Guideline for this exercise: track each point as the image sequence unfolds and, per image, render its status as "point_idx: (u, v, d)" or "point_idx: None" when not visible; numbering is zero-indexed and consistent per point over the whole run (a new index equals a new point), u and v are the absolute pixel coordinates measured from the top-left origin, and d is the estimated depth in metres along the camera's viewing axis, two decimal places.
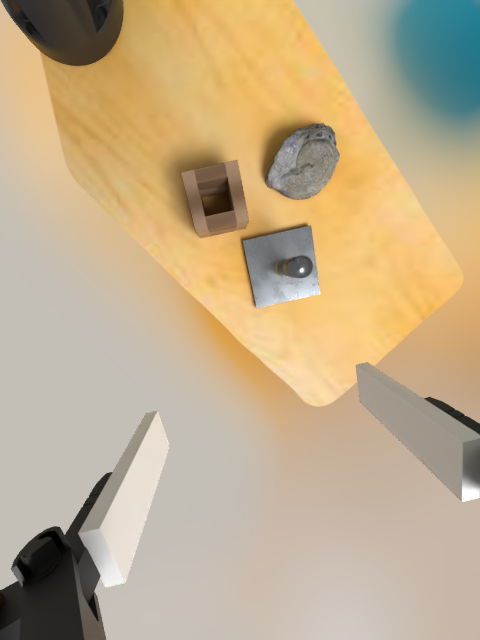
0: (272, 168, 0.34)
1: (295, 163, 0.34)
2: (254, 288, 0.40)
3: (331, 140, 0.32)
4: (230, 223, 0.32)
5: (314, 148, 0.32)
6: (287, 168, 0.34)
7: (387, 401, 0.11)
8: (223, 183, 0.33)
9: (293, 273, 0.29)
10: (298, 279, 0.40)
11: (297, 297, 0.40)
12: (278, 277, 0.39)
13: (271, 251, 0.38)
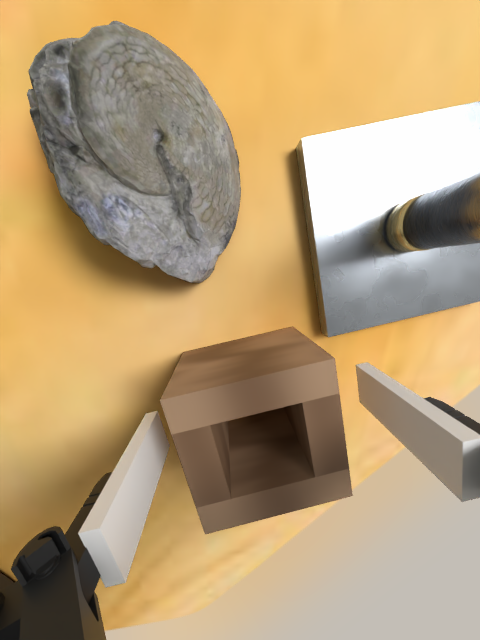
0: (174, 272, 0.12)
1: (157, 197, 0.11)
2: (444, 305, 0.15)
3: (71, 43, 0.08)
4: (338, 412, 0.11)
5: (108, 119, 0.09)
6: (173, 226, 0.11)
7: (387, 401, 0.11)
8: None
9: None
10: (445, 176, 0.13)
11: None
12: None
13: (361, 262, 0.14)
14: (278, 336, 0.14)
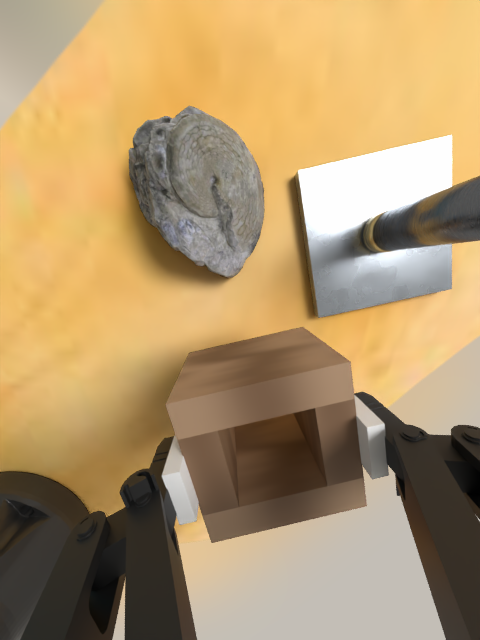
0: (217, 269, 0.17)
1: (209, 219, 0.16)
2: (411, 294, 0.20)
3: (167, 127, 0.14)
4: (353, 418, 0.10)
5: (186, 174, 0.14)
6: (218, 238, 0.16)
7: None
8: None
9: None
10: (409, 195, 0.18)
11: None
12: None
13: (344, 260, 0.19)
14: (288, 337, 0.14)
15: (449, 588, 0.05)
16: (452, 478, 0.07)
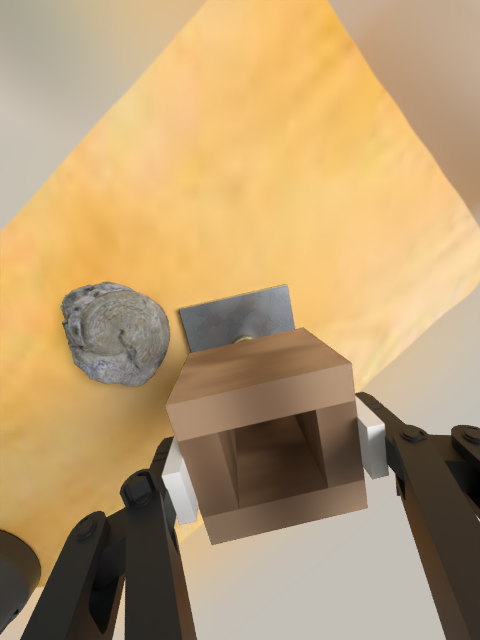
0: (128, 384, 0.23)
1: (119, 354, 0.22)
2: None
3: (82, 306, 0.20)
4: (354, 420, 0.10)
5: (96, 336, 0.20)
6: (127, 365, 0.23)
7: None
8: None
9: None
10: (263, 323, 0.25)
11: (291, 322, 0.25)
12: None
13: None
14: (288, 338, 0.14)
15: (449, 588, 0.05)
16: (451, 478, 0.07)
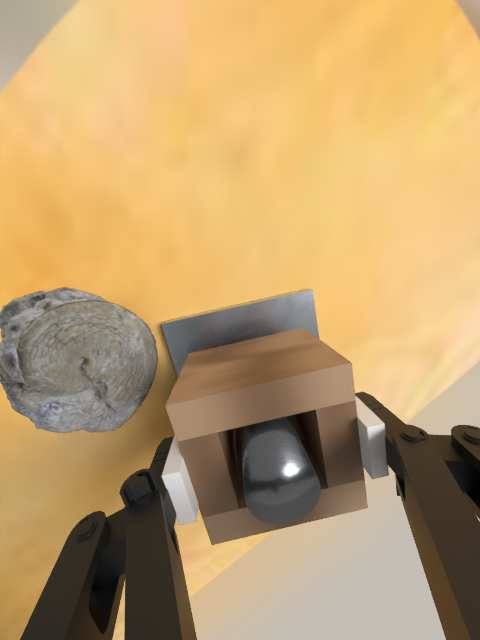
0: (97, 430, 0.17)
1: (82, 392, 0.15)
2: None
3: (22, 324, 0.13)
4: (354, 419, 0.10)
5: (43, 370, 0.13)
6: (94, 406, 0.16)
7: None
8: None
9: (302, 513, 0.09)
10: None
11: None
12: None
13: None
14: (288, 338, 0.14)
15: (449, 588, 0.05)
16: (452, 478, 0.07)
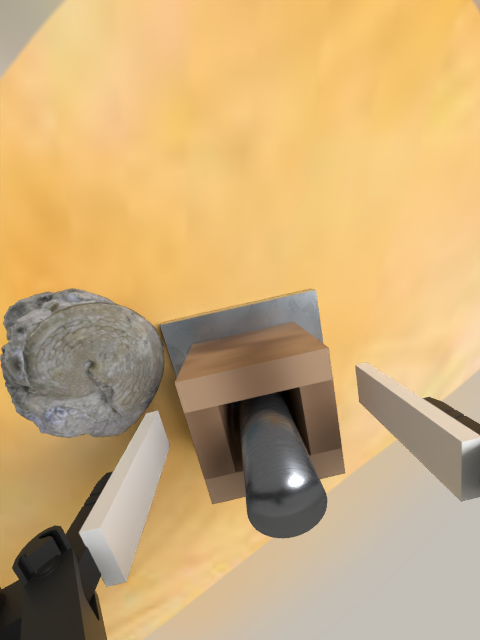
0: (102, 435, 0.16)
1: (88, 396, 0.15)
2: None
3: (28, 326, 0.13)
4: (332, 396, 0.12)
5: (49, 373, 0.13)
6: (100, 411, 0.16)
7: (387, 400, 0.11)
8: None
9: (307, 527, 0.08)
10: None
11: None
12: None
13: None
14: (279, 330, 0.16)
15: None
16: None
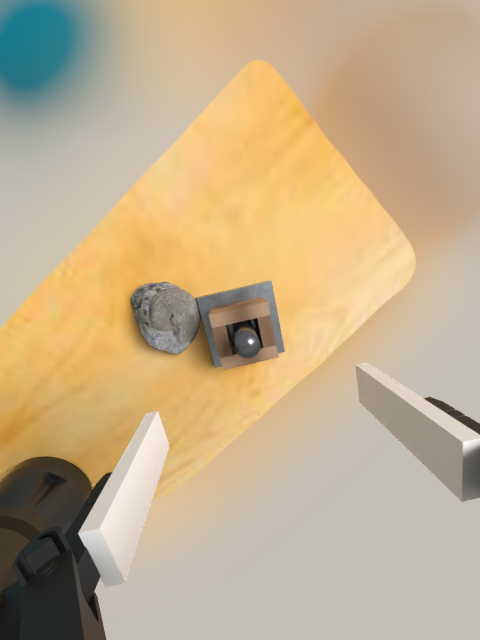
0: (171, 352, 0.34)
1: (168, 331, 0.33)
2: None
3: (150, 297, 0.31)
4: (270, 322, 0.30)
5: (157, 317, 0.31)
6: (172, 339, 0.33)
7: (387, 401, 0.11)
8: (226, 325, 0.31)
9: (254, 354, 0.26)
10: None
11: (274, 307, 0.35)
12: None
13: None
14: (253, 299, 0.33)
15: None
16: None
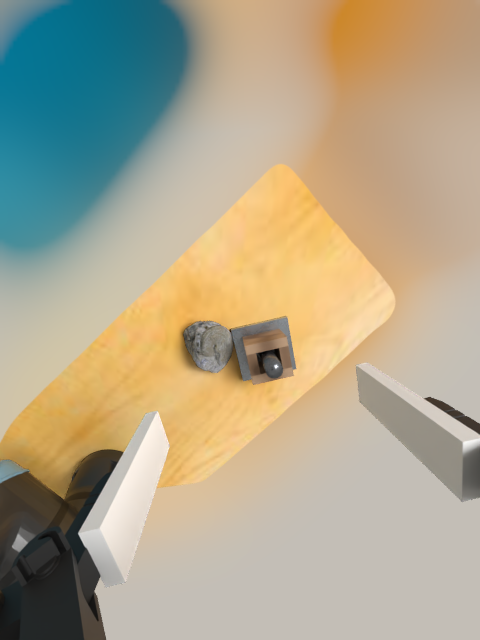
0: (213, 371, 0.46)
1: (212, 356, 0.45)
2: None
3: (200, 333, 0.42)
4: (288, 350, 0.41)
5: (206, 347, 0.43)
6: (214, 362, 0.45)
7: (387, 401, 0.11)
8: None
9: (279, 376, 0.38)
10: None
11: (289, 336, 0.47)
12: None
13: None
14: (274, 331, 0.45)
15: None
16: None
